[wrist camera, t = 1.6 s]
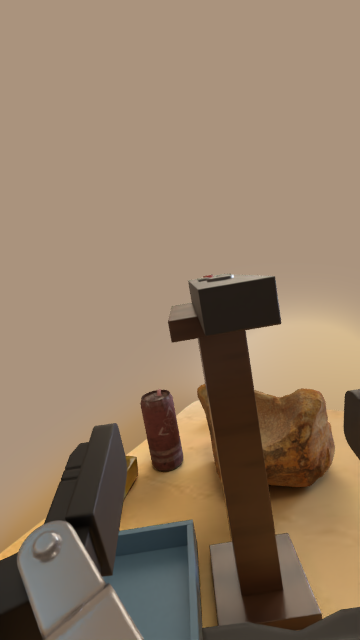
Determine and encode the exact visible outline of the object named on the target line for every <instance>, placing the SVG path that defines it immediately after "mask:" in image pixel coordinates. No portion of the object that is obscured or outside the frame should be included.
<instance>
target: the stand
mask: <svg viewBox="0 0 360 640" xmlns="http://www.w3.org/2000/svg"><path fill="white" fill-rule="evenodd" d="M279 311H280V310H279ZM280 319H281V317H280ZM168 324H169V329H170V335H171V341H172V342H178V341H184V340H190V339H195V338H198V343H199V349H200V355H201V361H202V367H203V373H204V379H205V385H206V391H207V397H208V403H209V409H210V415H211V421H212V427H213V433H214V439H215V445H216V451H217V457H218V463H219V469H220V475H221V481H222V487H223V493H224V498H225V504H226V510H227V516H228V522H229V528H230V534H231V540H232V542H226V543H220V544H213V545H210V555H211V565H212V574H213V583H214V592H215V601H216V610H217V619H218V626H221V625H229V624H236V623H244V622H250V623H255V624H261V625H266V626H272V627H277V628H283V629H289V630H295V631H296V630H302V629H304V628H306V627H308V626H310V625H312V624H314V623H316V622H318V621H320V620H322V614H321V611H320V609H319V606H318V604H317V602H316V599H315V597H314V594H313V592H312V590H311V587H310V585H309V582H308V580H307V578H306V575H305V573H304V570H303V568H302V566H301V563H300V561H299V558H298V556H297V554H296V551H295V549H294V546H293V544H292V542H291V539H290V537H289V534H288V533H284V534H278V535H275V529H274V522H273V515H272V509H271V502H270V495H269V488H268V481H267V474H266V468H265V461H264V454H263V447H262V440H261V433H260V427H259V420H258V413H257V406H256V399H255V392H254V386H253V379H252V372H251V365H250V358H249V352H248V345H247V338H246V331H245V330H249V329H244V330H238V331H232V332H226V333H221V334H215V335H209V336H205V333H204V331H203V329H202V326H201V324H200V321H199V319H198V316H197V314H196V312H195V309H194V307H193V304H192V303H188V304H182V305H176V306H172V307H171V312H170V316H169V320H168ZM280 324H281V323H280ZM274 325H278V324H274ZM268 326H273V325H268ZM262 327H267V326H262ZM256 328H261V327H256ZM250 329H255V328H250Z"/></svg>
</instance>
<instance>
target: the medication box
mask: <svg viewBox="0 0 360 640" xmlns="http://www.w3.org/2000/svg"><path fill="white" fill-rule="evenodd" d="M126 462H127V478H126V485H125V492H124V498H125V496H126V494H127V493H128V491H129V489H130V488H131V486H132V484H133V483H134V481H135V479H136V477H137V476H138V466H137V457H133V456H126ZM123 500H124V499H123Z"/></svg>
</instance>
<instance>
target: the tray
mask: <svg viewBox="0 0 360 640" xmlns="http://www.w3.org/2000/svg"><path fill="white" fill-rule="evenodd" d="M102 578H103V579H104V581H105V582H106V584H107V583H110V584H111V586H112V587H113V589H114V590H115V592H116V593H117V595H118V597H119V598H120V600H121V602H122V603H123V605H124V607H125V608H126V610H127V612H128V613H129V615H130V617H131V618H132V620H133V622H134V623H135V625H136V627H137V628H138V630H139V632H140V634H141V635H142V637H143V639H144V640H203V632H202V613H201V598H200V582H199V567H198V551H197V540H196V535H195V529H194V524H193V520H186V521H180V522H173V523H167V524H161V525H154V526H148V527H142V528H135V529H129V530H122V531H119V534H118V541H117V548H116V555H115V561H114V568H113V575H112V576H104V577H102Z"/></svg>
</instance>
